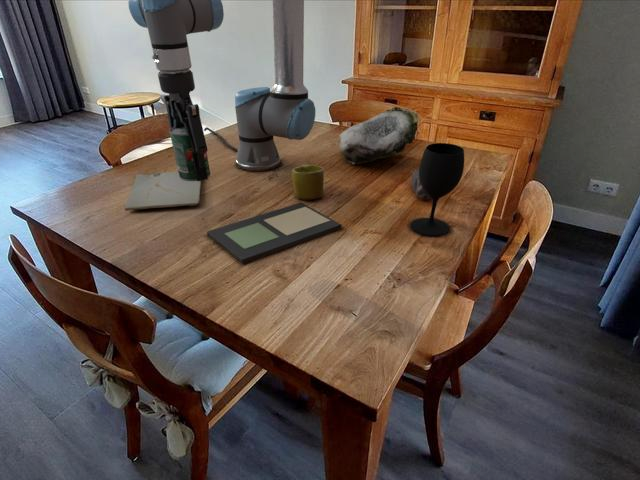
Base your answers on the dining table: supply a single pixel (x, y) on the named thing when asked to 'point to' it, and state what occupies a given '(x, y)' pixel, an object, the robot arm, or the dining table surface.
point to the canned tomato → (185, 154)
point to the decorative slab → (162, 191)
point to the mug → (308, 182)
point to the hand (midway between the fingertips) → (194, 174)
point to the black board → (272, 231)
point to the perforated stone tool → (418, 186)
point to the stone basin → (379, 136)
